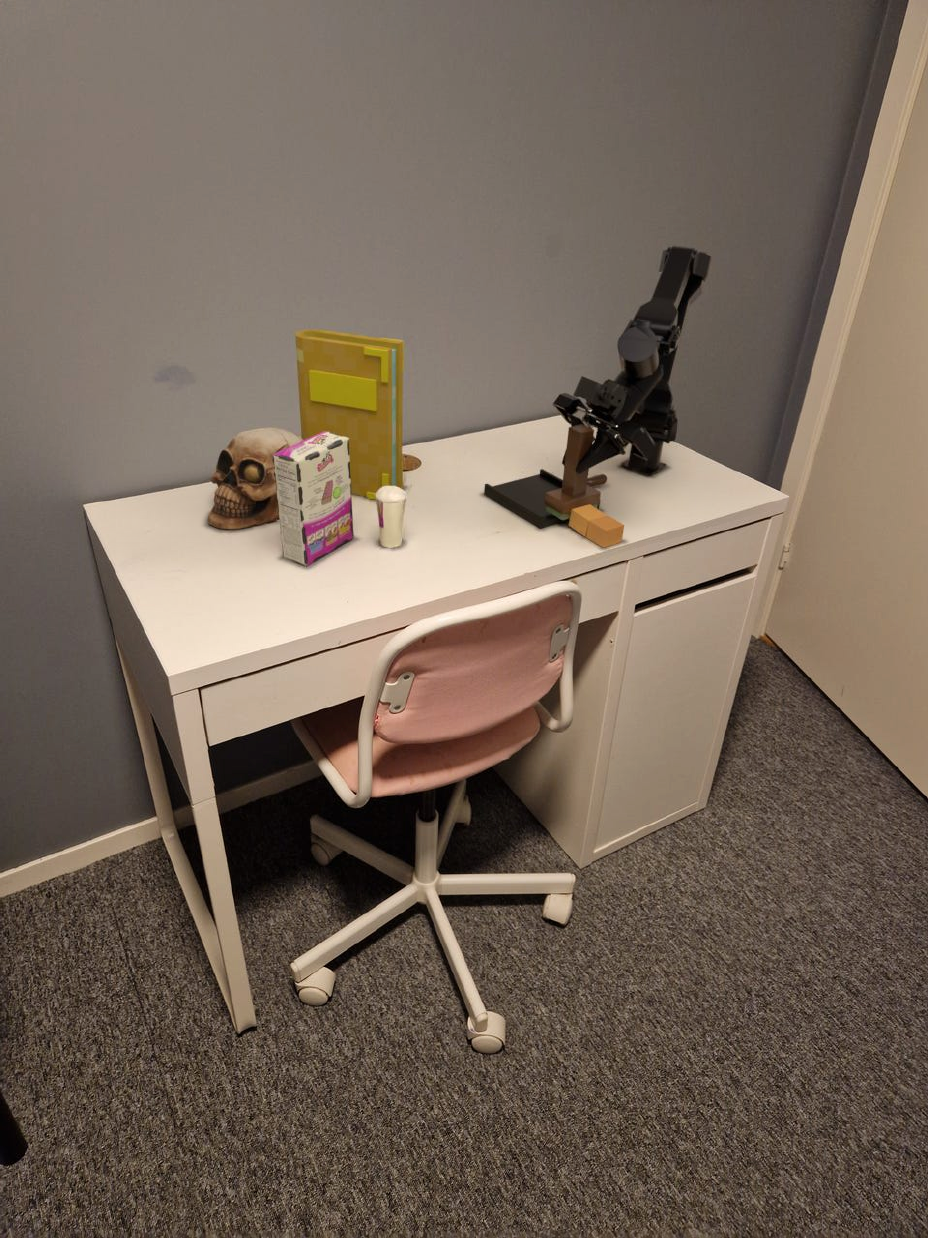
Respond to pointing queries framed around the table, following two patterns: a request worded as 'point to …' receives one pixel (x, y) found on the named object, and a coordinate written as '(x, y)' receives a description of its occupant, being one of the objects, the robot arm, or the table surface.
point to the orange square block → (605, 531)
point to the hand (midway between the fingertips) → (570, 468)
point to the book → (355, 401)
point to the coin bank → (248, 479)
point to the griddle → (533, 496)
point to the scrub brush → (573, 477)
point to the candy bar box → (314, 497)
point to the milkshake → (391, 515)
